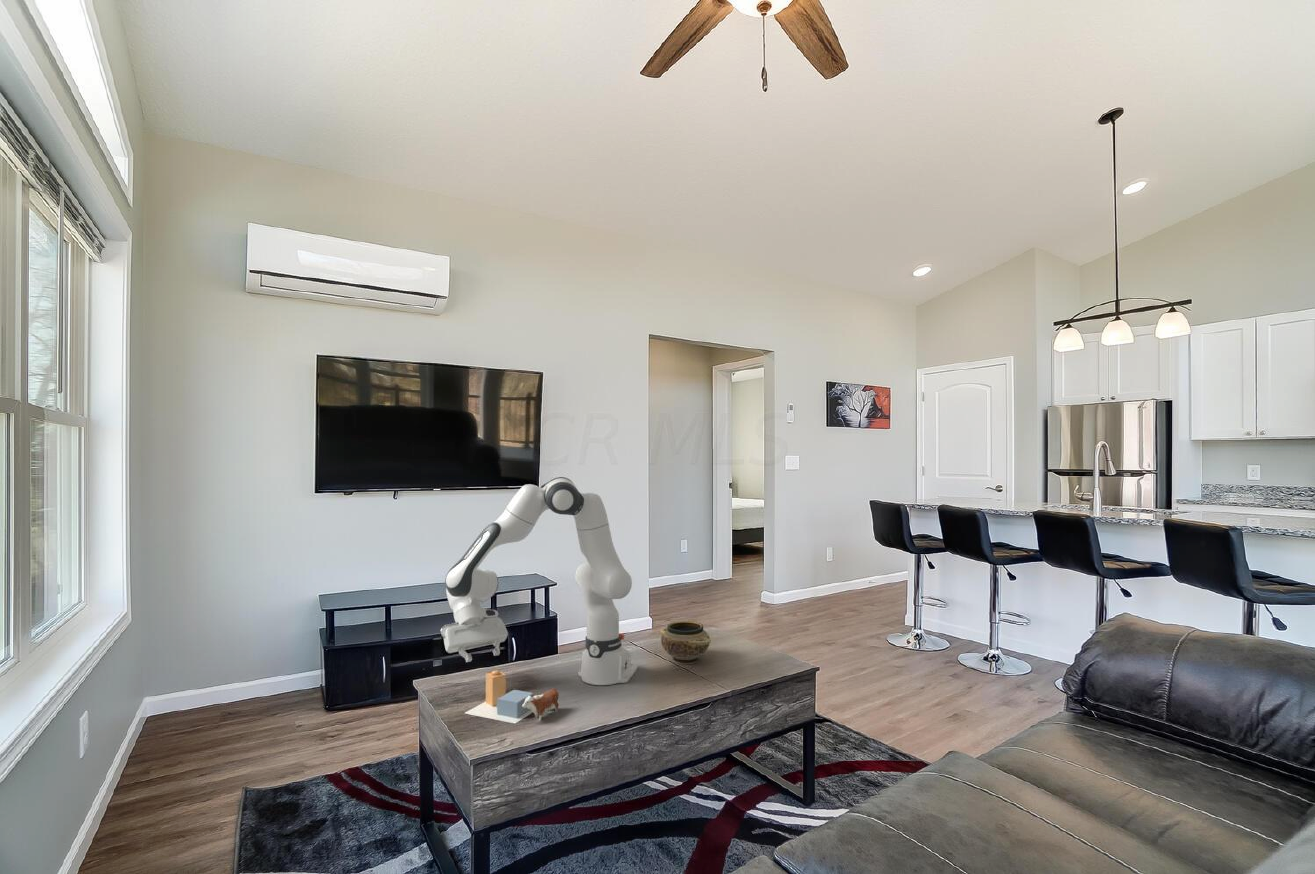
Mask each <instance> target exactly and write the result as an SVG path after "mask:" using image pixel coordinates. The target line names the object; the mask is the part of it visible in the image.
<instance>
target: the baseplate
mask: <svg viewBox="0 0 1315 874" xmlns="http://www.w3.org/2000/svg"><path fill="white" fill-rule="evenodd" d="M464 714H465V715H466V714H467V715H471V716H476V717H481V718H486V719H491V720H495V721H501V722H505V723H510V724H517V723H518V722H520V721H521V720H523V719H524V718H526V717H528V716H529V715H531V714H533V712H532V710H530V711H528V712H527V713H525V714H523V715H522V716H520V717H519V718H512V717H507V716H502V715H497V706H493V707H492V706H490V705H489V704H487V703H486V700H485V701H483V702H481V703H480V704H479V705H476V706H475V707H473V708H471V709H469V710H467V711H466V712H464Z"/></svg>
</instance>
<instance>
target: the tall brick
mask: <svg viewBox="0 0 1315 874" xmlns="http://www.w3.org/2000/svg"><path fill="white" fill-rule="evenodd" d="M506 684H507V674H505V673H504V672H502V671H501V670H498V669H495V670H492V671H491V672H487V673H485V701H486V703H487V704H489V705H490V706H492V707H493V706H497V699H498V698H500V697H502V696H503V695H505V694H507V692H506V691H507V688H506V687H507V685H506Z"/></svg>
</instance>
